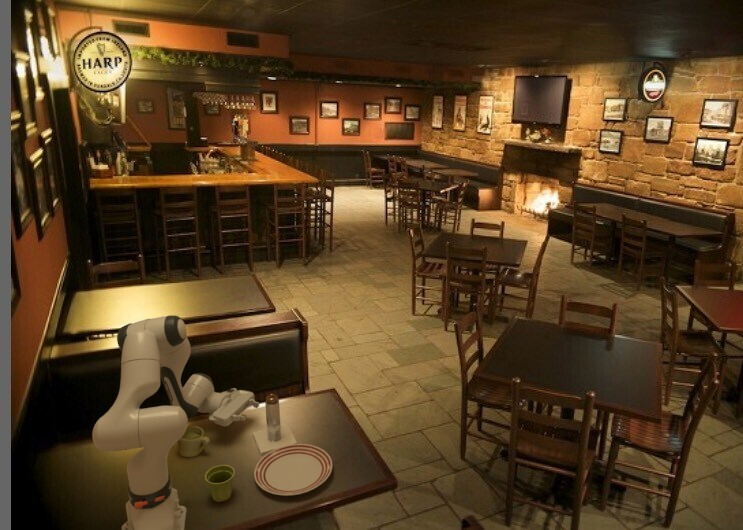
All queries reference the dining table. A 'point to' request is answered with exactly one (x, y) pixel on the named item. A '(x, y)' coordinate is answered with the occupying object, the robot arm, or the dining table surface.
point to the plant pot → (220, 482)
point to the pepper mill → (273, 418)
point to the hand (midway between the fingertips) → (251, 411)
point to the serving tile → (268, 446)
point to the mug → (192, 442)
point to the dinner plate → (293, 469)
